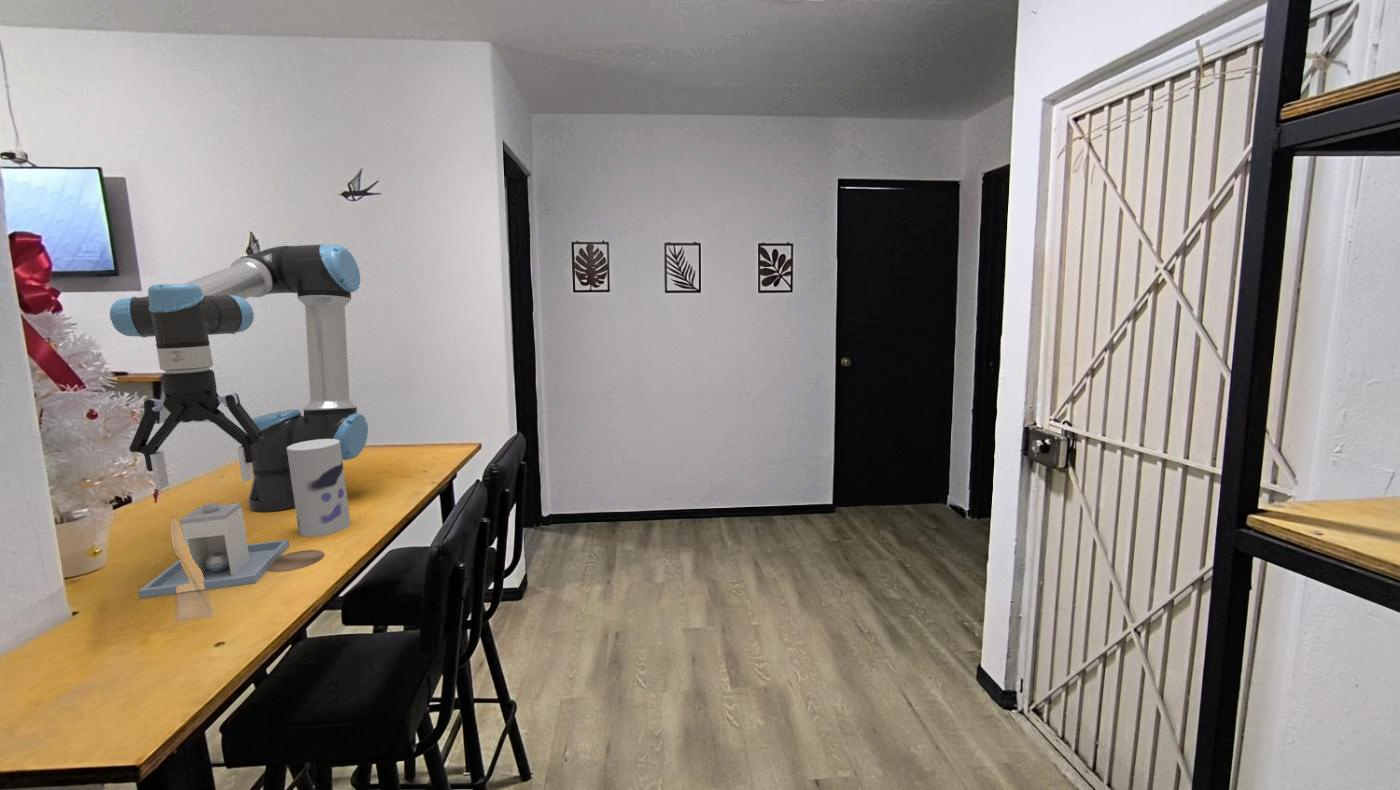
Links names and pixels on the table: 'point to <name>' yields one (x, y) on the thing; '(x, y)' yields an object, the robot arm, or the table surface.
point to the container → (318, 487)
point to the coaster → (296, 560)
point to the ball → (217, 561)
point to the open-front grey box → (216, 534)
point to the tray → (248, 574)
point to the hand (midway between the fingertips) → (205, 483)
